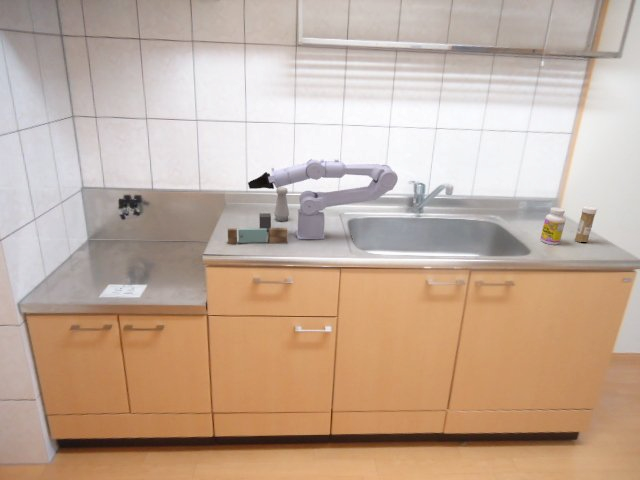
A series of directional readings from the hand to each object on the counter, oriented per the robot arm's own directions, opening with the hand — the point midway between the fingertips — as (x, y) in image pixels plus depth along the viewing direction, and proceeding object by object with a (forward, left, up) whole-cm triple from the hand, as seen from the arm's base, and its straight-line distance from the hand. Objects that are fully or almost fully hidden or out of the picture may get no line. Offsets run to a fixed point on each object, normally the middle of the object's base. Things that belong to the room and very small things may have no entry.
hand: (250, 185), depth 155 cm
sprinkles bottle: (-123, +12, -18) cm, 125 cm away
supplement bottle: (-110, +12, -18) cm, 112 cm away
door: (0, +8, -18) cm, 19 cm away
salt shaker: (-12, -16, -18) cm, 27 cm away
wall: (-2, +8, -18) cm, 20 cm away
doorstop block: (-5, -4, -18) cm, 19 cm away
